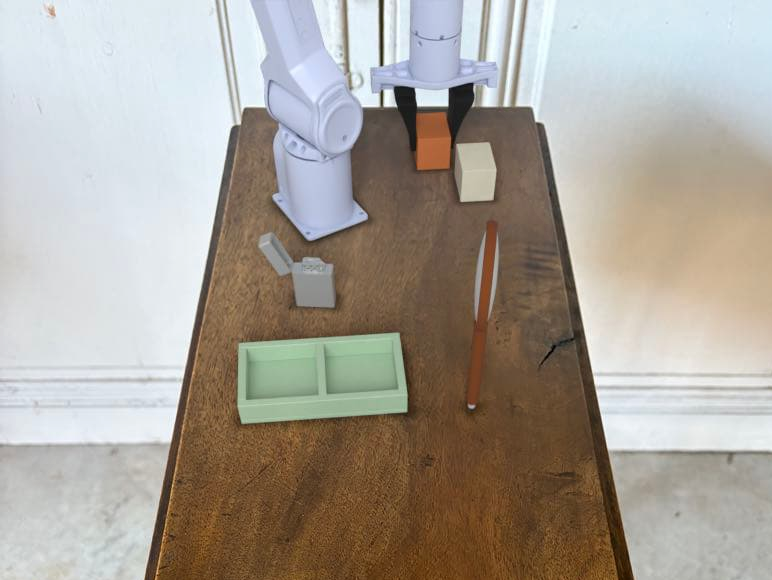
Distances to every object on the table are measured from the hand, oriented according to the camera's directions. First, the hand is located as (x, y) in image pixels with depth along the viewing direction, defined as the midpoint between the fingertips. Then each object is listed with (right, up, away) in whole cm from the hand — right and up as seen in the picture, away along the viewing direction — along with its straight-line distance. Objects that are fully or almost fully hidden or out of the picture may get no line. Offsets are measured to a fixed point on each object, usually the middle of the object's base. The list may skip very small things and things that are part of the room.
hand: (431, 145), depth 98 cm
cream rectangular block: (+5, -6, -2) cm, 8 cm away
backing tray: (-11, -34, -19) cm, 40 cm away
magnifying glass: (+3, -36, -21) cm, 42 cm away
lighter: (-14, -23, -13) cm, 30 cm away
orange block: (0, -1, +1) cm, 1 cm away
